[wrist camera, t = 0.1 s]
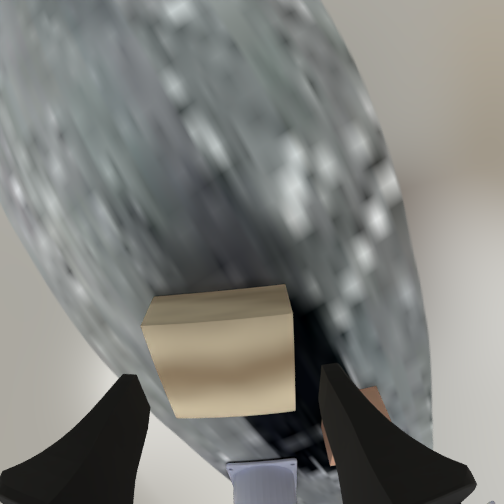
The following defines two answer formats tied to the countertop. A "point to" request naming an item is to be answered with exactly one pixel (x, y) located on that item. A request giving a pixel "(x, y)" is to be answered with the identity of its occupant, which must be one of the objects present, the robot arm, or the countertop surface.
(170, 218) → the countertop surface
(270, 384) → the birch base
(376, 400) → the terracotta cube
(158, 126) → the countertop surface
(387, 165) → the countertop surface
